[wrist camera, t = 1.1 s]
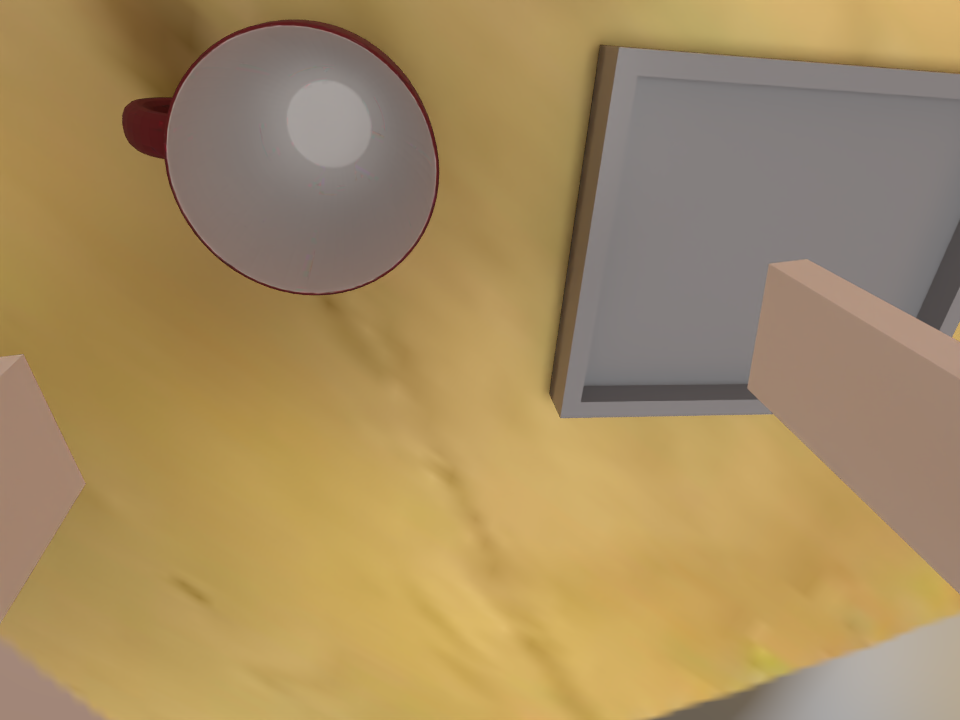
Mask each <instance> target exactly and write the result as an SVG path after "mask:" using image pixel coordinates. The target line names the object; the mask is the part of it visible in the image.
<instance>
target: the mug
mask: <svg viewBox="0 0 960 720" xmlns="http://www.w3.org/2000/svg"><path fill="white" fill-rule="evenodd" d="M122 124H123V129H124V133H125V136H126V138H127V140H128V142H129V143H130V144H131V145H132V146H133V147H134V148H136V149H137V150H138V151H140V152H142V153H144V154H147V155H149V156H153V157H157V158H162V159H165V165H166V171H167V176H168V180H169V184H170V187H171V190H172V192H173V195H174V198H175V200H176V202H177V205H178V207H179V209H180V211H181V213H182V214H183V216H184V218H185V220H186V221H187V223H188V225H189V226H190V227H191V229H192V230H193V232H194V233H195V234H196V236H197V237H198V238H199V239H200V240H201V242H202V243H203V244H204V245H205V246H206V247H207V248H208V249H209V250H210V251H211V252H212V253H213V254H214V255H215V256H216V257H217V258H219V259H220V260H221V261H222V262H223V263H225V264H226V265H227V266H229V267H230V268H232V269H233V270H234V271H236V272H238V273H239V274H241V275H243V276H245V277H246V278H248V279H250V280H252V281H255V282H257V283H259V284H261V285H264V286H267V287H269V288H273V289H276V290H279V291H283V292H288V293H293V294H302V295H331V294H337V293H343V292H347V291H351V290H354V289H357V288H360V287H363V286H365V285H368V284H370V283H372V282H374V281H376V280H378V279H379V278H381V277H383V276H385V275H386V274H387V273H389V272H390V271H391V270H393V269H394V268H395V267H397V266H398V265H399V264H400V263H401V262H402V261H403V260H404V259H405V258H406V257H407V256H408V255H409V254H410V253H411V251H412V250H413V249H414V247H415V246H416V245H417V243H418V242H419V240H420V239H421V237H422V235H423V234H424V232H425V230H426V228H427V226H428V223H429V221H430V218H431V216H432V213H433V210H434V206H435V202H436V198H437V191H438V184H439V159H438V152H437V146H436V141H435V137H434V133H433V129H432V126H431V123H430V120H429V117H428V114H427V112H426V110H425V108H424V105H423V103H422V101H421V99H420V97H419V95H418V94H417V92H416V90H415V88H414V87H413V85H412V84H411V82H410V81H409V79H408V78H407V77H406V75H405V74H404V73H403V72H402V70H401V69H400V68H399V67H398V66H397V65H396V64H395V63H394V62H393V61H392V60H391V59H390V58H389V57H388V56H387V55H386V54H385V53H383V52H382V51H381V50H380V49H379V48H377V47H376V46H374V45H373V44H371V43H370V42H368V41H367V40H365V39H363V38H362V37H360V36H358V35H356V34H354V33H352V32H350V31H347V30H345V29H343V28H340V27H337V26H334V25H330V24H327V23H322V22H317V21H309V20H280V21H271V22H266V23H262V24H258V25H254V26H250V27H247V28H244V29H242V30H239V31H236V32H234V33H232V34H230V35H228V36H226V37H224V38H223V39H221V40H220V41H218V42H217V43H215V44H214V45H212V46H211V47H210V48H209V49H207V50H206V51H205V52H204V53H203V54H202V55H201V56H200V57H199V58H198V59H197V60H196V61H195V62H194V63H193V64H192V65H191V67H190V68H189V69H188V71H187V72H186V74H185V75H184V76H183V78H182V80H181V81H180V83H179V85H178V87H177V89H176V91H175V93H174V96H173V98H163V97H161V98H145V99H138V100H134V101H132V102H131V103H129V104H128V105H127V106H126V107H125V109H124V112H123V114H122Z"/></svg>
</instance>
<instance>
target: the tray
mask: <svg viewBox="0 0 960 720" xmlns="http://www.w3.org/2000/svg"><path fill="white" fill-rule="evenodd" d="M804 259H808V260H809V261H811V262H813V263H815V264H817V265H819V266H821V267H822V268H824V269H826V270H828V271H830V272H832V273H834V274H835V275H837V276H839V277H841V278H843V279H845V280H846V281H848V282H850V283H852V284H854V285H856V286H858V287H859V288H861V289H863V290H865V291H867V292H869V293H870V294H872V295H874V296H876V297H878V298H880V299H882V300H883V301H885V302H887V303H889V304H891V305H893V306H894V307H896V308H898V309H900V310H902V311H904V312H906V313H907V314H909V315H911V316H913V317H915V318H917V319H919V320H920V321H922V322H924V323H926V324H928V325H930V326H931V327H933V328H935V329H937V330H939V331H941V332H943V333H944V334H946V335H948V336H950V337H952V336H953V334H954V332H955V330H956V328H957V326H958V323H959V321H960V74H958V73H945V72H933V71H920V70H908V69H895V68H883V67H870V66H857V65H845V64H832V63H820V62H807V61H795V60H782V59H770V58H757V57H745V56H732V55H720V54H707V53H695V52H682V51H670V50H657V49H644V48H632V47H619V46H607V45H600V50H599V57H598V64H597V71H596V78H595V84H594V91H593V98H592V105H591V112H590V119H589V126H588V132H587V139H586V146H585V153H584V160H583V167H582V174H581V180H580V187H579V194H578V201H577V208H576V215H575V222H574V228H573V235H572V242H571V249H570V256H569V263H568V270H567V276H566V283H565V290H564V297H563V304H562V311H561V318H560V324H559V331H558V338H557V345H556V352H555V359H554V366H553V372H552V379H551V386H550V393H549V394H550V396H551V399H552V401H553V403H554V405H555V408H556V410H557V412H558V414H559V416H560V418H591V417H645V416H698V415H752V414H773V413H772V412H771V411H770V410H769V409H768V408H767V407H766V406H765V405H764V404H763V403H762V402H761V401H760V400H758V399H757V398H756V397H755V396H754V395H753V394H752V393H751V392H750V391H749V390H748V389H747V387H748V381H749V375H750V370H751V364H752V358H753V352H754V347H755V341H756V335H757V329H758V324H759V318H760V312H761V306H762V301H763V295H764V289H765V283H766V278H767V272H768V266H769V264H771V263H779V262H787V261H795V260H804Z"/></svg>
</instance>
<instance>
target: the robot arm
mask: <svg viewBox="0 0 960 720" xmlns="http://www.w3.org/2000/svg"><path fill="white" fill-rule="evenodd" d="M747 389H748V390H749V391H750V392H751V393H752V394H753V395H754V396H755V397H756V398H757V399H758V400H760V401H761V402H762V403H763V404H764V405H765V406H766V407H767V408H768V409H769V410H770V411H771V412H772V413H773V414H774V415H775V416H776V417H777V418H778V419H779V420H780V421H781V422H782V423H783V424H784V425H785V426H786V427H787V428H788V429H789V430H791V431H792V432H793V433H794V434H795V435H796V436H797V437H798V438H799V439H800V440H801V441H802V442H803V443H804V444H805V445H806V446H807V447H808V448H809V449H810V450H811V451H812V452H813V453H814V454H815V455H816V456H817V457H818V458H819V459H820V460H822V461H823V462H824V463H825V464H826V465H827V466H828V467H829V468H830V469H831V470H832V471H833V472H834V473H835V474H836V475H837V476H838V477H839V478H840V479H841V480H842V481H843V482H844V483H845V484H846V485H847V486H848V487H849V488H850V489H852V490H853V491H854V492H855V493H856V494H857V495H858V496H859V497H860V498H861V499H862V500H863V501H864V502H865V503H866V504H867V505H868V506H869V507H870V508H871V509H872V510H873V511H874V512H875V513H876V514H877V515H878V516H879V517H880V518H881V519H883V520H884V521H885V522H886V523H887V524H888V525H889V526H890V527H891V528H892V529H893V530H894V531H895V532H896V533H897V534H898V535H899V536H900V537H901V538H902V539H903V540H904V541H905V542H906V543H907V544H908V545H909V546H910V547H911V548H912V549H914V550H915V551H916V552H917V553H918V554H919V555H920V556H921V557H922V558H923V559H924V560H925V561H926V562H927V563H928V564H929V565H930V566H931V567H932V568H933V569H934V570H935V571H936V572H937V573H938V574H939V575H940V576H941V577H942V578H943V579H945V580H946V581H947V582H948V583H949V584H950V585H951V586H952V587H953V588H954V589H955V590H956V591H957V592H958V593H959V594H960V342H959V341H957V340H955V339H954V338H952V337H950V336H948V335H946V334H944V333H943V332H941V331H939V330H937V329H935V328H933V327H931V326H930V325H928V324H926V323H924V322H922V321H920V320H919V319H917V318H915V317H913V316H911V315H909V314H907V313H906V312H904V311H902V310H900V309H898V308H896V307H894V306H893V305H891V304H889V303H887V302H885V301H883V300H882V299H880V298H878V297H876V296H874V295H872V294H870V293H869V292H867V291H865V290H863V289H861V288H859V287H858V286H856V285H854V284H852V283H850V282H848V281H846V280H845V279H843V278H841V277H839V276H837V275H835V274H834V273H832V272H830V271H828V270H826V269H824V268H822V267H821V266H819V265H817V264H815V263H813V262H811V261H809V260H808V259H804V260H795V261H787V262H779V263H771V264H769V266H768V272H767V278H766V283H765V289H764V295H763V301H762V306H761V312H760V318H759V324H758V329H757V335H756V341H755V347H754V352H753V358H752V364H751V370H750V375H749V381H748V387H747ZM85 484H86V483H85V481H84V479H83V477H82V475H81V473H80V471H79V469H78V467H77V465H76V463H75V461H74V458H73V456H72V454H71V452H70V450H69V448H68V446H67V444H66V442H65V440H64V438H63V436H62V433H61V431H60V429H59V427H58V425H57V423H56V421H55V419H54V417H53V415H52V413H51V411H50V409H49V406H48V404H47V402H46V400H45V398H44V396H43V394H42V392H41V390H40V388H39V386H38V384H37V381H36V379H35V377H34V375H33V373H32V371H31V369H30V367H29V365H28V363H27V361H26V359H25V356H24V354H21V355H13V356H4V357H0V623H1V622H2V620H3V618H4V617H5V615H6V613H7V612H8V610H9V608H10V607H11V605H12V604H13V602H14V600H15V599H16V597H17V595H18V594H19V592H20V590H21V589H22V587H23V586H24V584H25V582H26V581H27V579H28V577H29V576H30V574H31V572H32V571H33V569H34V568H35V566H36V564H37V563H38V561H39V559H40V558H41V556H42V554H43V553H44V551H45V549H46V548H47V546H48V545H49V543H50V541H51V540H52V538H53V536H54V535H55V533H56V531H57V530H58V528H59V527H60V525H61V523H62V522H63V520H64V518H65V517H66V515H67V513H68V512H69V510H70V509H71V507H72V505H73V504H74V502H75V500H76V499H77V497H78V495H79V494H80V492H81V491H82V489H83V487H84V486H85Z"/></svg>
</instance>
